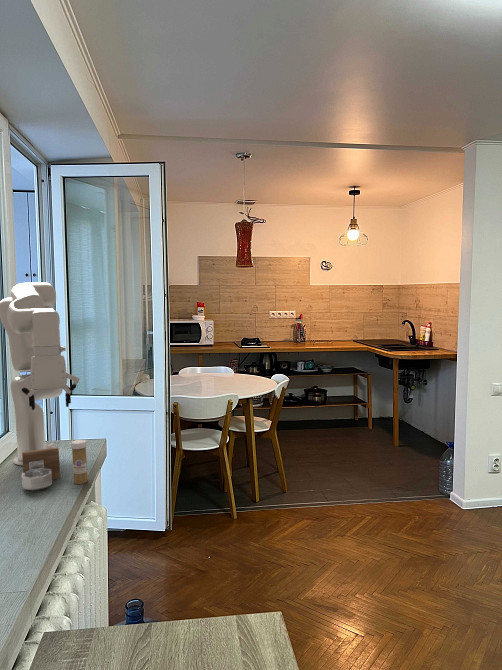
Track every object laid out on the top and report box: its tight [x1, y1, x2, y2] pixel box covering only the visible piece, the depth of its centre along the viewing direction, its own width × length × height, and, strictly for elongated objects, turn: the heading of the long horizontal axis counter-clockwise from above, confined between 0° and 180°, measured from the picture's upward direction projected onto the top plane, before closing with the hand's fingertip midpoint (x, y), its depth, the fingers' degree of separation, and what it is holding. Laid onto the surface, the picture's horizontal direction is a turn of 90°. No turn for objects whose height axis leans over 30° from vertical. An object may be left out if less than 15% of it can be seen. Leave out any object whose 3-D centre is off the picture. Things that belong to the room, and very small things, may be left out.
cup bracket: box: [21, 460, 53, 491], centre depth 166 cm, size 11×9×6 cm
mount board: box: [22, 446, 61, 480], centre depth 174 cm, size 6×11×10 cm, turn 113°
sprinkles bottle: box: [70, 439, 89, 485], centre depth 170 cm, size 5×5×13 cm
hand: (50, 407), depth 159 cm, fingers open, 9 cm apart
